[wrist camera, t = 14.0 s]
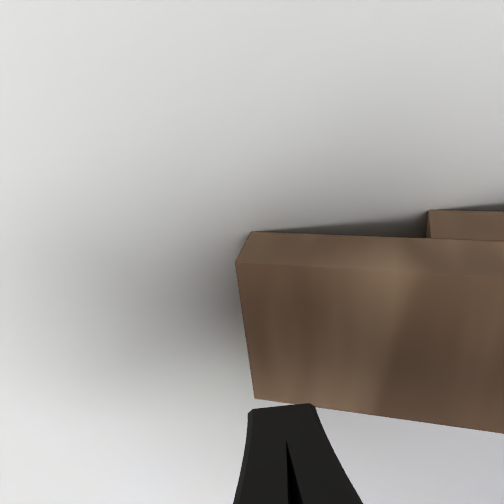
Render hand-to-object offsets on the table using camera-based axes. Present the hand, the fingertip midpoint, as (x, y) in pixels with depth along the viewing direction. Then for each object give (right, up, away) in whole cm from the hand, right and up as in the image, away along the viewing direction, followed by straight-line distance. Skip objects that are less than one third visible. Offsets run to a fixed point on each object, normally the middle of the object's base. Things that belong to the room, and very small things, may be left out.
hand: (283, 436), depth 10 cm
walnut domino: (-1, +2, +4) cm, 4 cm away
